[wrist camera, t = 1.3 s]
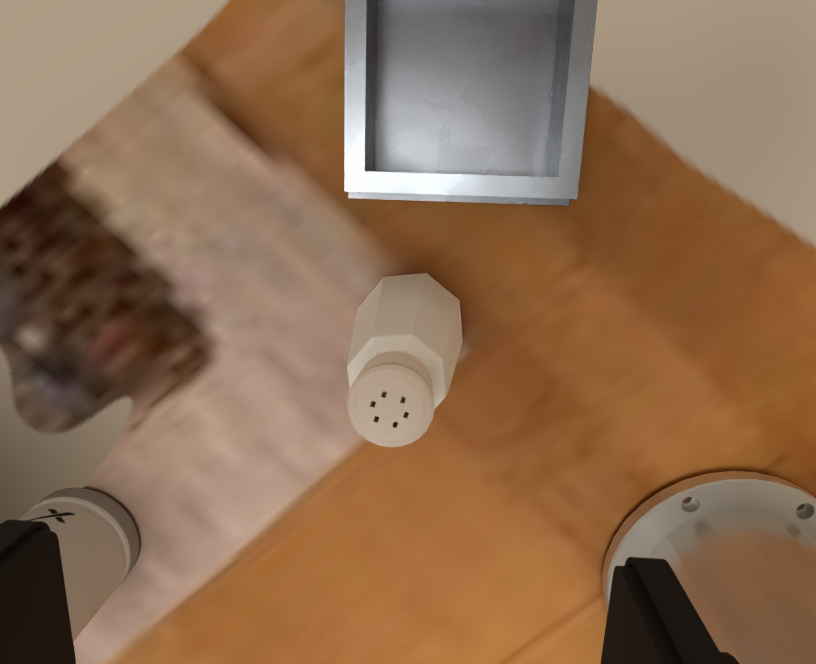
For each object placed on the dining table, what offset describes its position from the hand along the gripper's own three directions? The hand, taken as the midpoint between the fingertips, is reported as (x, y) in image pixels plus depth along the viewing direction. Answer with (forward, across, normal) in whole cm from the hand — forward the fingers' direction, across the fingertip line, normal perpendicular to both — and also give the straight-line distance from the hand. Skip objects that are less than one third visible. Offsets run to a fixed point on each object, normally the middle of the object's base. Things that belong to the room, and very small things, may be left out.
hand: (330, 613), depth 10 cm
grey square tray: (+20, -2, -11) cm, 23 cm away
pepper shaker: (+20, 0, 0) cm, 20 cm away
